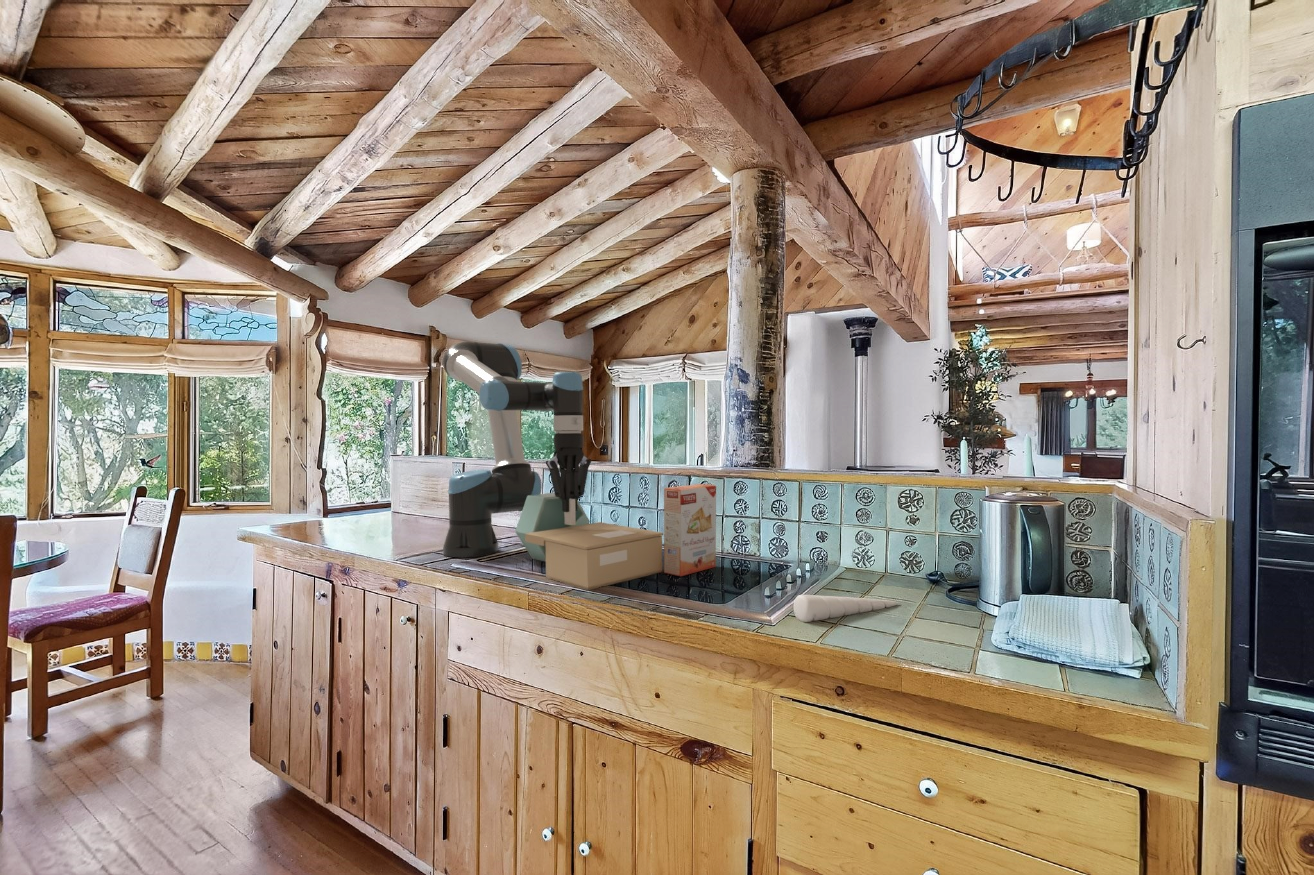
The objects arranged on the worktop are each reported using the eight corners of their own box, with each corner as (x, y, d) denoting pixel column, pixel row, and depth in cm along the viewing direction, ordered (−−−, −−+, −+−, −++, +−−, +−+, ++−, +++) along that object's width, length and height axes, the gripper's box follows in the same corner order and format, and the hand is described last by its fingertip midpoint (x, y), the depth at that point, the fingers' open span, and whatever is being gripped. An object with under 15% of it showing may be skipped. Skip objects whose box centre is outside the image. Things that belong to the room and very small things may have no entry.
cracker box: (682, 577, 141) (681, 488, 141) (662, 573, 145) (662, 487, 145) (717, 567, 151) (717, 484, 151) (699, 563, 155) (698, 483, 155)
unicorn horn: (913, 611, 114) (913, 586, 114) (806, 626, 107) (806, 599, 106) (896, 604, 119) (896, 580, 119) (791, 618, 111) (791, 592, 111)
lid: (525, 541, 148) (525, 533, 148) (600, 529, 164) (599, 521, 164) (586, 556, 130) (586, 546, 130) (663, 540, 147) (663, 532, 147)
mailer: (546, 577, 142) (545, 540, 142) (619, 562, 158) (619, 528, 158) (587, 590, 131) (587, 550, 130) (662, 571, 147) (662, 536, 147)
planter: (558, 577, 160) (521, 518, 152) (541, 573, 166) (504, 515, 157) (598, 535, 171) (565, 478, 162) (580, 532, 176) (548, 476, 167)
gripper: (556, 432, 147) (557, 529, 147) (597, 432, 156) (599, 522, 156) (538, 432, 152) (540, 525, 152) (580, 432, 161) (581, 519, 161)
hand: (570, 524), depth 154 cm, fingers closed
